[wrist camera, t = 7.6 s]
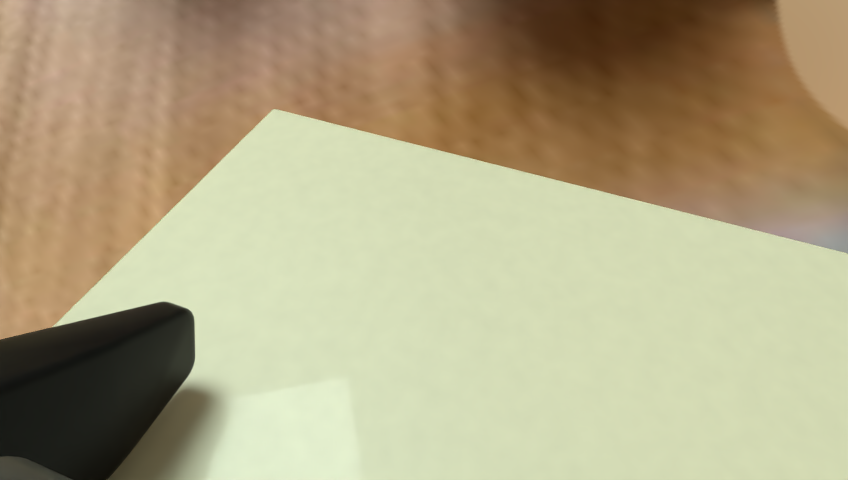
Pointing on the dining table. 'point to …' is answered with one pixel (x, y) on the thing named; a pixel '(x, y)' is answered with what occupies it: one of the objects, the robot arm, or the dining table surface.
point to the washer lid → (474, 327)
